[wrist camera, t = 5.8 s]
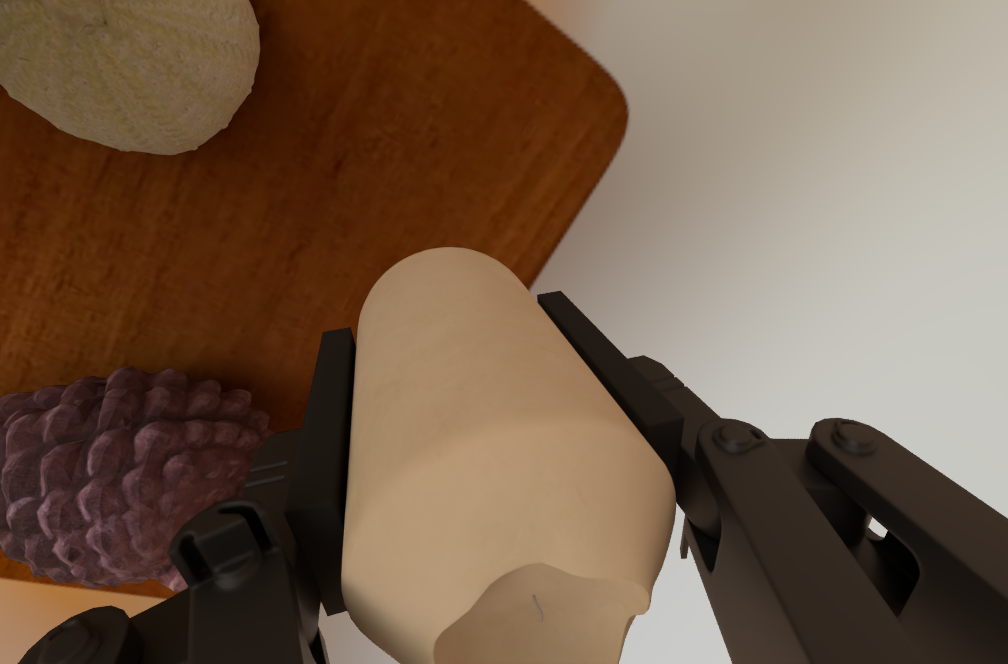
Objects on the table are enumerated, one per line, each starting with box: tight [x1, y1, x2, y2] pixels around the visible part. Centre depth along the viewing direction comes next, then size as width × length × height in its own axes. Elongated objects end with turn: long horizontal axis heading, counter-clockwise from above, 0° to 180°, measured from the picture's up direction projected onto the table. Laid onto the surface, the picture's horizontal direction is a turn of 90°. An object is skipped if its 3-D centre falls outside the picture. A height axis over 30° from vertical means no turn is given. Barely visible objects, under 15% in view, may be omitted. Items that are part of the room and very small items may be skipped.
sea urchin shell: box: [0, 0, 260, 155], centre depth 16 cm, size 9×8×8 cm
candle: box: [341, 247, 676, 664], centre depth 10 cm, size 6×6×10 cm
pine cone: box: [0, 366, 276, 592], centre depth 22 cm, size 18×10×10 cm
